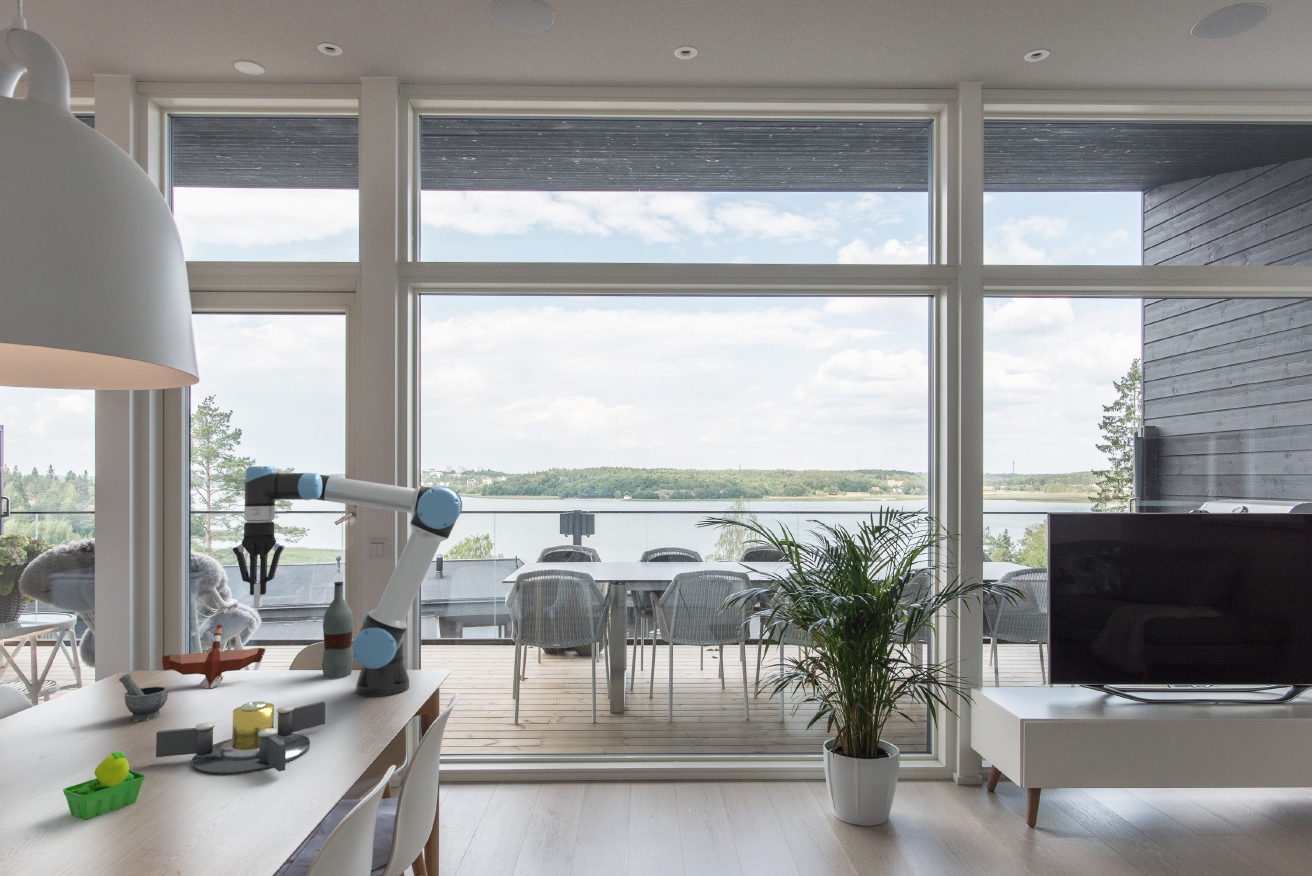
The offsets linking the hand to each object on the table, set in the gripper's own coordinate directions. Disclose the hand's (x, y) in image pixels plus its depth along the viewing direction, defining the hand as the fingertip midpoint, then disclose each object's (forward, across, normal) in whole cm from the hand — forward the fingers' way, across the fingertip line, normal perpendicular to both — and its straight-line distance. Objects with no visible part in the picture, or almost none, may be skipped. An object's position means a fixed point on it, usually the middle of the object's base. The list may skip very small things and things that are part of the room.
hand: (257, 606), depth 208 cm
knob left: (+27, +15, -48) cm, 57 cm away
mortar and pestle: (+29, -28, +2) cm, 40 cm away
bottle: (+29, +16, +34) cm, 47 cm away
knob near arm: (+27, +16, -25) cm, 40 cm away
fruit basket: (+29, -12, -60) cm, 68 cm away
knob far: (+27, -6, -36) cm, 45 cm away
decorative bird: (+29, -20, +34) cm, 49 cm away
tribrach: (+28, +8, -36) cm, 47 cm away
